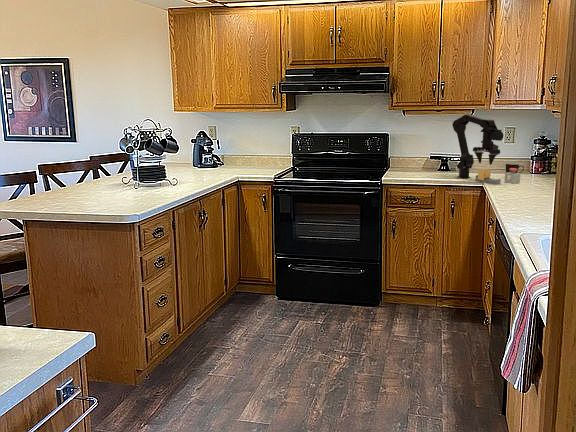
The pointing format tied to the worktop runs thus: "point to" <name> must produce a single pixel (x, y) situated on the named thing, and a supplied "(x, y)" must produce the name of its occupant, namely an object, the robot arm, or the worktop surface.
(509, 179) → the grey block
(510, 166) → the coffee mug
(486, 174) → the carriage
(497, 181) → the rail
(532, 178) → the worktop surface
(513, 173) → the plunger
